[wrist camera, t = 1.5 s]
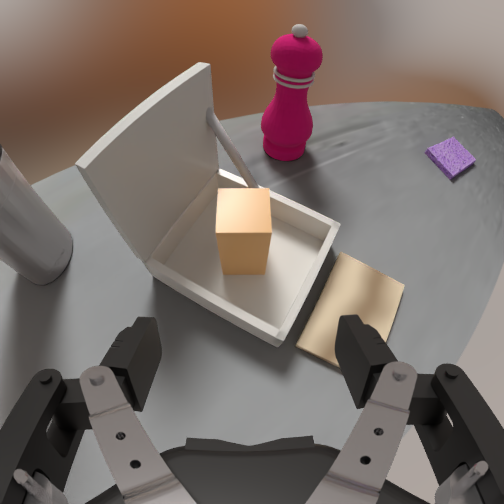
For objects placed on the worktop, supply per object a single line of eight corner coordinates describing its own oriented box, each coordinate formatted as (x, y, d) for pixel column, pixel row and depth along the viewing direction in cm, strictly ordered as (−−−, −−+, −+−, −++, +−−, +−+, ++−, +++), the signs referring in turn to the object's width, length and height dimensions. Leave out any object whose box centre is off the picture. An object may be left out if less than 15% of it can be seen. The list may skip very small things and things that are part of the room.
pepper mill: (308, 136, 43) (331, 22, 25) (306, 167, 40) (335, 40, 22) (263, 129, 43) (271, 13, 25) (256, 159, 40) (263, 29, 22)
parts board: (295, 346, 29) (296, 344, 28) (338, 255, 34) (340, 251, 33) (366, 380, 27) (370, 379, 26) (400, 288, 32) (404, 285, 31)
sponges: (423, 154, 44) (427, 147, 42) (450, 141, 47) (454, 135, 45) (448, 182, 41) (453, 175, 40) (472, 165, 44) (476, 159, 43)
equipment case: (149, 273, 32) (74, 163, 15) (213, 188, 38) (199, 62, 21) (277, 347, 29) (324, 291, 12) (330, 243, 34) (388, 124, 18)
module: (222, 274, 31) (215, 232, 23) (223, 238, 33) (217, 188, 25) (264, 274, 31) (271, 232, 23) (263, 237, 33) (269, 188, 25)
